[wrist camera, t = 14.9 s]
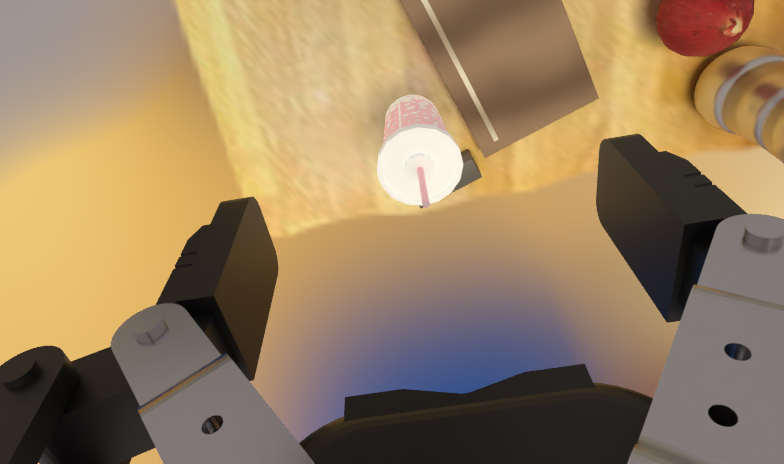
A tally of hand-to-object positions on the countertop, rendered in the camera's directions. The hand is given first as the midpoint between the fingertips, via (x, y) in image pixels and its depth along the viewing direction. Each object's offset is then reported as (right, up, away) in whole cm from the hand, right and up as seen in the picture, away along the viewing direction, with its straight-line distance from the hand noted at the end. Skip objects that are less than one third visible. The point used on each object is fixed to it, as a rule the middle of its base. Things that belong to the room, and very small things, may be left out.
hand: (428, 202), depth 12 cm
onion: (+21, +17, +28) cm, 39 cm away
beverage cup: (+1, +9, +32) cm, 34 cm away
